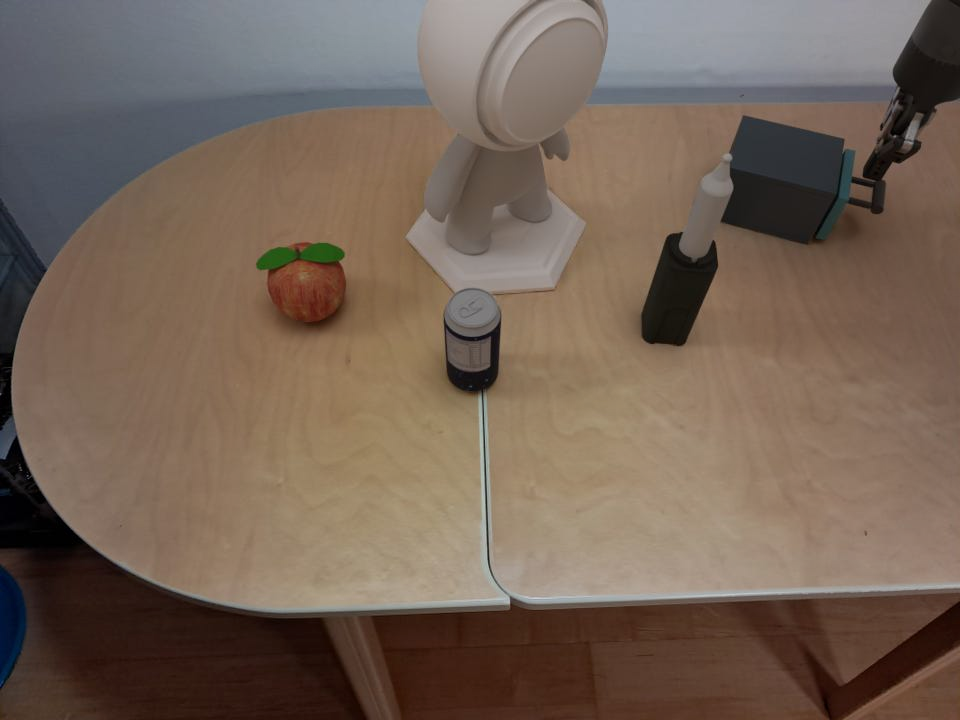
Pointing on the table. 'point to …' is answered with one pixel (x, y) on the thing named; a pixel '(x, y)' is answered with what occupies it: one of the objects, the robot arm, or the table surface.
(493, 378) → the beverage can
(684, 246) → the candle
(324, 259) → the fruit
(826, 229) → the drawer
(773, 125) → the dark grey drawer cabinet
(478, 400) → the table surface
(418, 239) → the white toy figurine
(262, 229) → the table surface
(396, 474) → the table surface
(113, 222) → the table surface
